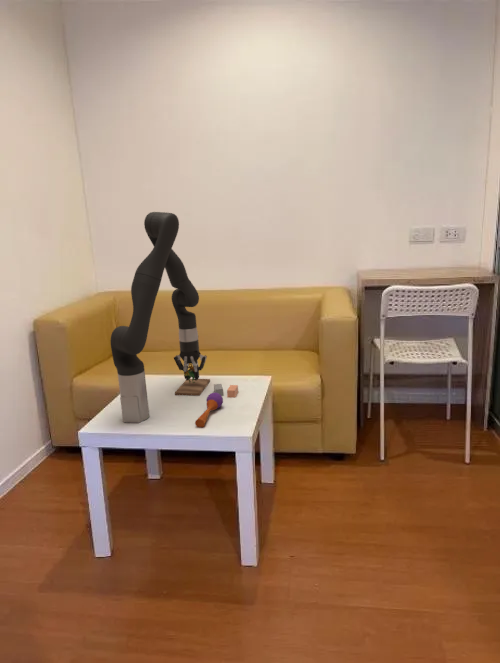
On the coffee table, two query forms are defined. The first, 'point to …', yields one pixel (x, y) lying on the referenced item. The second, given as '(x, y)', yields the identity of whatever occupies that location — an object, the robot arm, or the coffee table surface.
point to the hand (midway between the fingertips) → (192, 379)
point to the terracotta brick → (232, 391)
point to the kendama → (209, 408)
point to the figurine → (190, 373)
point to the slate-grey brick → (218, 389)
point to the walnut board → (192, 387)
